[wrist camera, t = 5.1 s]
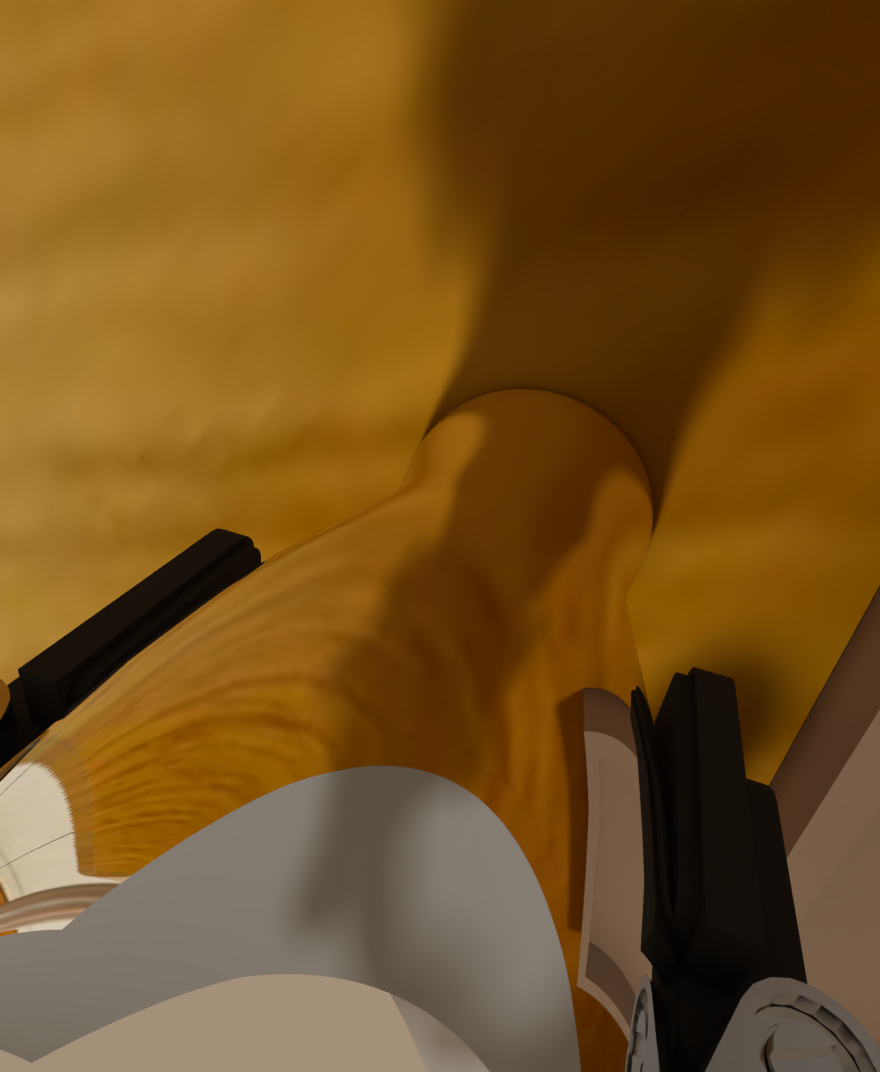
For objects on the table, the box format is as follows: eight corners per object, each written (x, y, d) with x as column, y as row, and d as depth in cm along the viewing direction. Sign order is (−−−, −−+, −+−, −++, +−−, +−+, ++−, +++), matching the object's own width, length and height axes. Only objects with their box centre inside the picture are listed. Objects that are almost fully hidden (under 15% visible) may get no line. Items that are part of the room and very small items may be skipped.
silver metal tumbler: (568, 302, 14) (-648, 1479, 1) (731, 558, 15) (1040, 2412, 2) (344, 464, 17) (-578, 1203, 5) (493, 661, 19) (109, 1656, 6)
